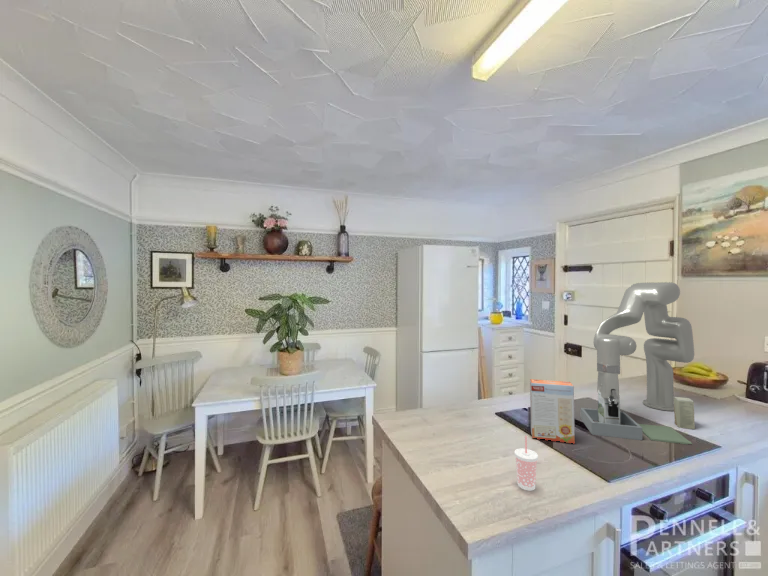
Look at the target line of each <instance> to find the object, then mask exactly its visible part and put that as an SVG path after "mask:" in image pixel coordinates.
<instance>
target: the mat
mask: <svg viewBox="0 0 768 576" xmlns="http://www.w3.org/2000/svg"><path fill="white" fill-rule="evenodd" d="M638 424H639V425H640V426H641V427H642V434H644V435H645V437H647V438H648V439H649V440H650V441H656V442H664V443H671V444H679V443H680V445H688V444H692V445H693V443H692V441H691V440H688V439H687V438H686V437H685V436H684V435H682V434H681V433H679V432H678V431H677V430H675V429H674V428H673V427H671V426H666V425H665V426H664V425H655V424H654V425H652V424H644V423H638Z"/></svg>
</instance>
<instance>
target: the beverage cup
mask: <svg viewBox="0 0 768 576" xmlns="http://www.w3.org/2000/svg"><path fill="white" fill-rule="evenodd" d="M524 444H525V445H524V447H523V448H522V447H521V448H516V449H515V450H514V457H515V465H516V469H515V470H516V483H517V486H518V487H519V488H521V489H522V490H523V491H524V490H525V491H534V490H535V489H536V481H537V480H536V479H537V463H538V461H539V454H538V453H537V452H536V451H534V450H531V449H530V448H528V435H524Z"/></svg>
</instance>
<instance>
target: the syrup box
mask: <svg viewBox="0 0 768 576" xmlns="http://www.w3.org/2000/svg"><path fill="white" fill-rule="evenodd" d="M620 397H621V396H620V394H619V400H618V403H619V404H618V405H619V407H618V417H610V416H608V405H609V402H608V399H604V398H603V397H602V396H601V392H600V391H599V390H598V392H597V409H598V421H597V422H600V423H610V424H619V425H621V423H620V412H621V404H620V403H621V402H620V401H621V400H620V399H621V398H620ZM610 398H612V397H610ZM611 402H612V400H611Z"/></svg>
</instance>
